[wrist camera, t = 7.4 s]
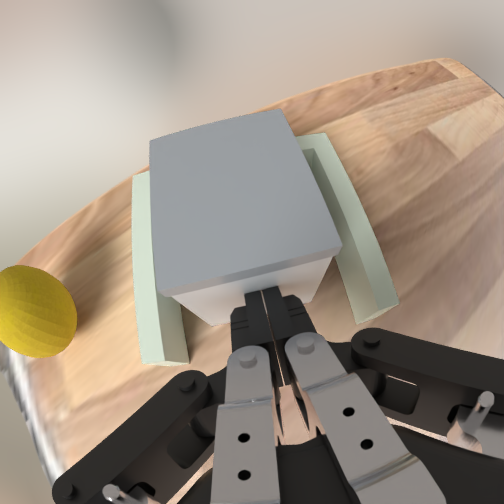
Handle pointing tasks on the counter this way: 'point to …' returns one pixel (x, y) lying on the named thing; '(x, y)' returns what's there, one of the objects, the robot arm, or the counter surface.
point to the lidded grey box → (236, 215)
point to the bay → (348, 260)
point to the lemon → (35, 312)
